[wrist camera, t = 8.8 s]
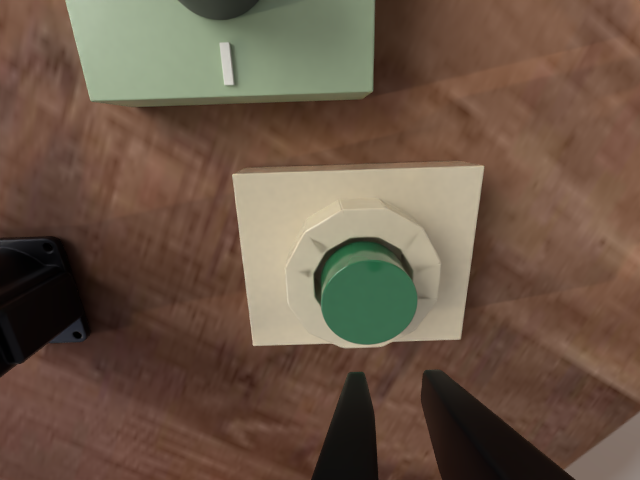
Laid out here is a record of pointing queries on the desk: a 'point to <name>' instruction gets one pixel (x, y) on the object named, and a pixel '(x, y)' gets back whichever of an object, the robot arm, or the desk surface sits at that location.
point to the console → (224, 52)
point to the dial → (219, 8)
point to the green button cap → (366, 293)
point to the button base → (355, 226)
